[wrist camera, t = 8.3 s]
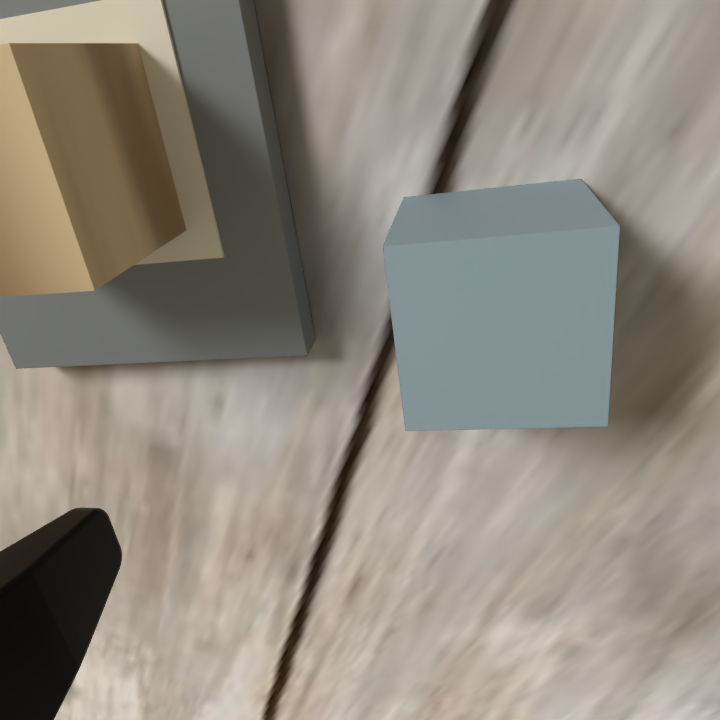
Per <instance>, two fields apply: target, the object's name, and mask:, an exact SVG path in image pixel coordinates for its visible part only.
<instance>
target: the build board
mask: <svg viewBox="0 0 720 720" xmlns="http://www.w3.org/2000/svg"><path fill="white" fill-rule="evenodd" d="M7 43H138V46H139V50H140V53H141V57H142V61H143V65H144V69H145V73H146V76H147V80H148V84H149V88H150V92H151V96H152V100H153V103H154V107H155V111H156V115H157V119H158V123H159V127H160V130H161V134H162V138H163V142H164V146H165V150H166V153H167V157H168V161H169V165H170V169H171V173H172V177H173V180H174V184H175V188H176V192H177V196H178V200H179V204H180V207H181V211H182V215H183V219H184V223H185V227H186V231H185V232H183V233H182V234H180V235H179V236H177V237H176V238H174V239H173V240H171V241H170V242H168V243H167V244H165V245H164V246H162V247H160V248H159V249H157V250H156V251H154V252H153V253H151V254H150V255H148V256H147V257H145V258H144V259H142V260H141V261H139V262H138V263H136V264H135V265H133V266H132V267H130V268H129V269H127V270H125V271H124V272H122V273H121V274H119V275H118V276H116V277H115V278H113V279H112V280H110V281H109V282H107V283H106V284H104V285H103V286H101V287H100V288H98V289H97V290H95V291H83V292H68V293H53V294H38V295H23V296H8V297H0V334H1V336H2V338H3V340H4V343H5V345H6V347H7V349H8V352H9V354H10V356H11V358H12V361H13V363H14V365H15V367H16V369H19V368H41V367H63V366H85V365H108V364H130V363H152V362H174V361H196V360H219V359H241V358H263V357H285V356H307V355H308V353H309V351H310V349H311V347H312V345H313V343H314V341H315V334H314V329H313V323H312V318H311V312H310V307H309V301H308V296H307V291H306V285H305V280H304V274H303V269H302V263H301V258H300V252H299V247H298V241H297V236H296V230H295V225H294V220H293V214H292V209H291V203H290V198H289V192H288V187H287V181H286V176H285V170H284V165H283V159H282V154H281V148H280V143H279V138H278V132H277V127H276V121H275V116H274V110H273V105H272V99H271V94H270V88H269V83H268V77H267V72H266V67H265V61H264V56H263V50H262V45H261V39H260V34H259V28H258V23H257V17H256V12H255V6H254V1H253V0H0V45H1V44H7Z"/></svg>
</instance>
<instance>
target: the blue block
mask: <svg viewBox="0 0 720 720" xmlns="http://www.w3.org/2000/svg"><path fill="white" fill-rule="evenodd" d="M619 231H620V226H619V224H618V223H617V222H616V221H615V220H614V218H613V217H612V216H611V215H610V213H609V212H608V211H607V210H606V209H605V207H604V206H603V205H602V204H601V202H600V201H599V200H598V199H597V198H596V196H595V195H594V194H593V193H592V192H591V190H590V189H589V188H588V187H587V185H586V184H585V183H584V182H583V181H582V179H575V180H565V181H555V182H546V183H536V184H526V185H517V186H507V187H497V188H488V189H478V190H468V191H459V192H449V193H440V194H430V195H420V196H411V197H404V198H403V200H402V203H401V205H400V207H399V210H398V212H397V215H396V217H395V219H394V222H393V224H392V226H391V229H390V231H389V233H388V236H387V238H386V240H385V243H384V245H383V252H384V260H385V268H386V276H387V284H388V293H389V301H390V309H391V317H392V325H393V333H394V341H395V350H396V358H397V366H398V374H399V382H400V390H401V398H402V407H403V415H404V423H405V431H431V430H475V429H519V428H563V427H607V426H608V414H609V398H610V381H611V364H612V347H613V331H614V314H615V297H616V281H617V264H618V247H619Z"/></svg>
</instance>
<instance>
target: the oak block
mask: <svg viewBox="0 0 720 720" xmlns="http://www.w3.org/2000/svg"><path fill="white" fill-rule="evenodd" d="M185 231H186V227H185V223H184V219H183V215H182V211H181V207H180V204H179V200H178V196H177V192H176V188H175V184H174V180H173V177H172V173H171V169H170V165H169V161H168V157H167V153H166V150H165V146H164V142H163V138H162V134H161V130H160V127H159V123H158V119H157V115H156V111H155V107H154V103H153V100H152V96H151V92H150V88H149V84H148V80H147V76H146V73H145V69H144V65H143V61H142V57H141V53H140V50H139V46H138V43H7V44H1V45H0V297H8V296H23V295H38V294H53V293H68V292H83V291H95V290H97V289H98V288H100V287H101V286H103V285H104V284H106V283H107V282H109V281H110V280H112V279H113V278H115V277H116V276H118V275H119V274H121V273H122V272H124V271H125V270H127V269H129V268H130V267H132V266H133V265H135V264H136V263H138V262H139V261H141V260H142V259H144V258H145V257H147V256H148V255H150V254H151V253H153V252H154V251H156V250H157V249H159V248H160V247H162V246H164V245H165V244H167V243H168V242H170V241H171V240H173V239H174V238H176V237H177V236H179V235H180V234H182V233H183V232H185Z"/></svg>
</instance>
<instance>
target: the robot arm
mask: <svg viewBox="0 0 720 720" xmlns="http://www.w3.org/2000/svg"><path fill="white" fill-rule="evenodd" d="M121 561H122V551H121V547H120V545H119V542H118V539H117V537H116V534H115V532H114V529H113V526H112V524H111V521H110V519H109V516H108V514H107V513H106V512H105V511H104V510H102V509H100V508H75V509H73V510H71V511H69V512H67V513H65V514H64V515H62V516H60V517H59V518H57V519H55V520H53V521H52V522H50V523H48V524H47V525H45V526H43V527H41V528H40V529H38V530H36V531H35V532H33V533H31V534H30V535H28V536H26V537H24V538H23V539H21V540H19V541H18V542H16V543H14V544H12V545H11V546H9V547H7V548H6V549H4V550H2V551H0V720H54V718H55V716H56V714H57V712H58V710H59V708H60V707H61V705H62V703H63V701H64V699H65V697H66V695H67V693H68V691H69V689H70V687H71V685H72V683H73V681H74V679H75V676H76V674H77V672H78V670H79V668H80V666H81V663H82V661H83V659H84V656H85V654H86V652H87V649H88V647H89V644H90V642H91V639H92V637H93V634H94V632H95V629H96V627H97V624H98V622H99V619H100V617H101V614H102V612H103V609H104V607H105V604H106V602H107V599H108V596H109V594H110V591H111V589H112V586H113V584H114V581H115V579H116V576H117V574H118V571H119V569H120V565H121Z"/></svg>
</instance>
